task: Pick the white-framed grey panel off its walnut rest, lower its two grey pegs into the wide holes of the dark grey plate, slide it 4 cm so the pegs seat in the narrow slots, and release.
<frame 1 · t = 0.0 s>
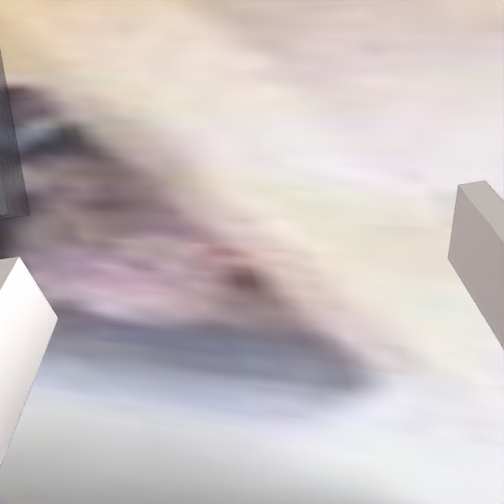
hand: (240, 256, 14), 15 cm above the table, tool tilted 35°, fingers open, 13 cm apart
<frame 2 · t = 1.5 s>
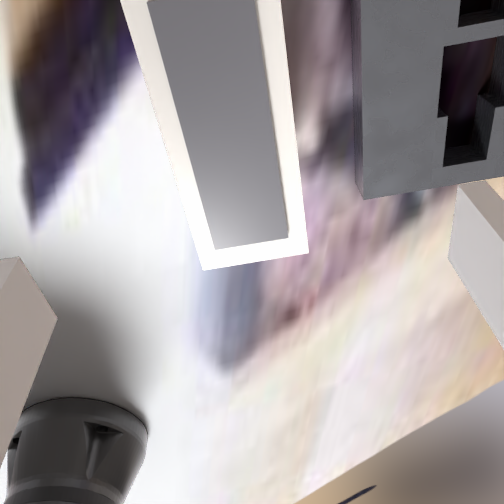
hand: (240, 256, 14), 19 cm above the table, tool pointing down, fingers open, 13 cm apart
white-framed grey panel: (227, 71, 29), on the table, touching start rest
dark grey plate: (464, 24, 28), on the table
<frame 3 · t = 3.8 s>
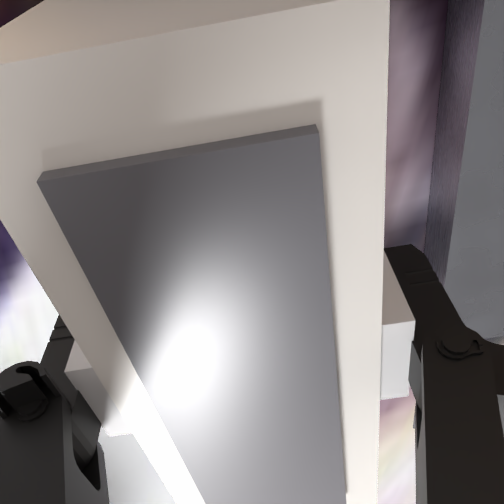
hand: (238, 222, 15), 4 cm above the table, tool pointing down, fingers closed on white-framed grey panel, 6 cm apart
white-framed grey panel: (236, 174, 18), point 1 cm above the table, touching gripper, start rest
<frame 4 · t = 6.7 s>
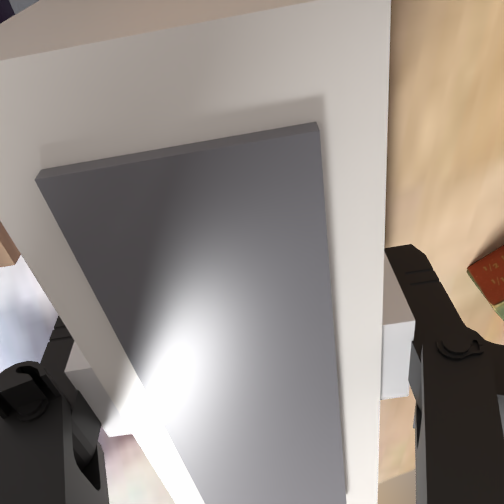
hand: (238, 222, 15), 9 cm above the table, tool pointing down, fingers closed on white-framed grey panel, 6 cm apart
white-framed grey panel: (236, 173, 18), point 6 cm above the table, touching gripper
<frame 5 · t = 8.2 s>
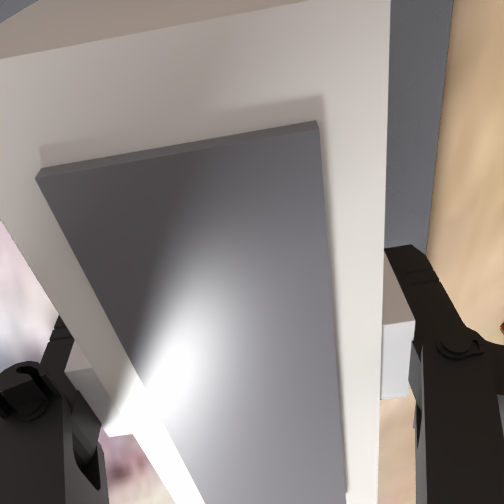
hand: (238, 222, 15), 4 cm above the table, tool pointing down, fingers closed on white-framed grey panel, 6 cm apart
white-framed grey panel: (235, 172, 18), point 1 cm above the table, touching gripper
dark grey plate: (243, 175, 19), on the table
when the fingers open (4 cm above the table, at t = 9.7 s): white-framed grey panel stays where it is, resting on dark grey plate.
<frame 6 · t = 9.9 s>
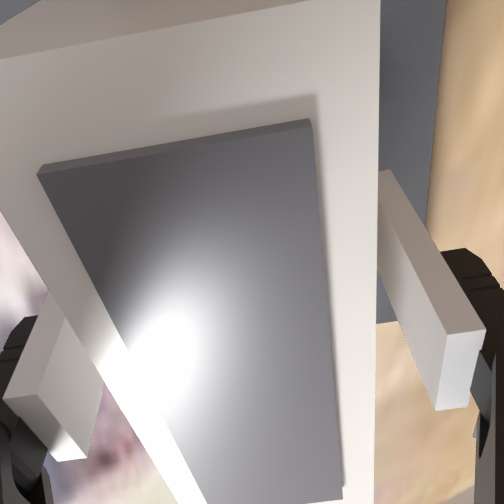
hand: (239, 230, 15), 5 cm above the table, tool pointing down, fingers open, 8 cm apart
white-framed grey panel: (234, 171, 18), resting on dark grey plate
dark grey plate: (226, 119, 17), on the table
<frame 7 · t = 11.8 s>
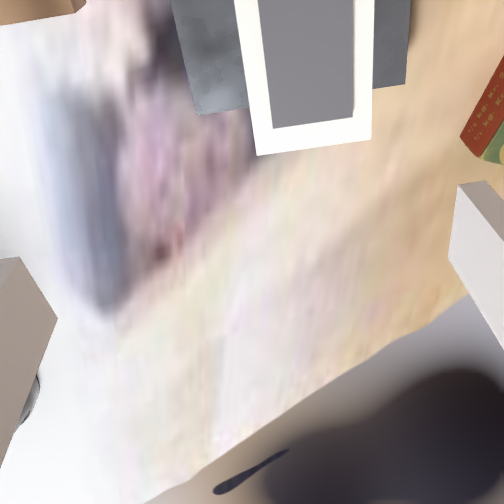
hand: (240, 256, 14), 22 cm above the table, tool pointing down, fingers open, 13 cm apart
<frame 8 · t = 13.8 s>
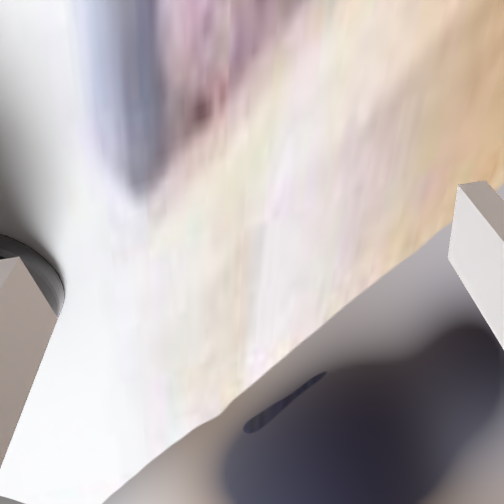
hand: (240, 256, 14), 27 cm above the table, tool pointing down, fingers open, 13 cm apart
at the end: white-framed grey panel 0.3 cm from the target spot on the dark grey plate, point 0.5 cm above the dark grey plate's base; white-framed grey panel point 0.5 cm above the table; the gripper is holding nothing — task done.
